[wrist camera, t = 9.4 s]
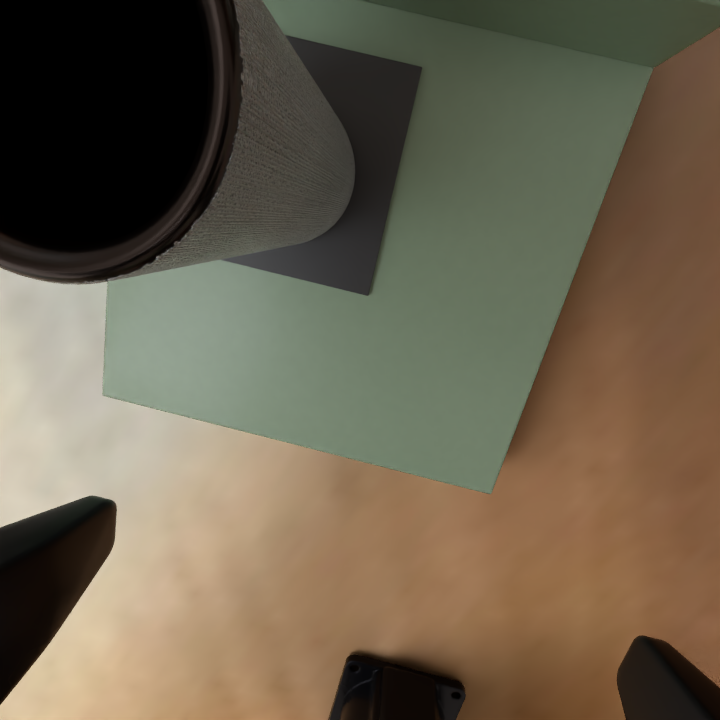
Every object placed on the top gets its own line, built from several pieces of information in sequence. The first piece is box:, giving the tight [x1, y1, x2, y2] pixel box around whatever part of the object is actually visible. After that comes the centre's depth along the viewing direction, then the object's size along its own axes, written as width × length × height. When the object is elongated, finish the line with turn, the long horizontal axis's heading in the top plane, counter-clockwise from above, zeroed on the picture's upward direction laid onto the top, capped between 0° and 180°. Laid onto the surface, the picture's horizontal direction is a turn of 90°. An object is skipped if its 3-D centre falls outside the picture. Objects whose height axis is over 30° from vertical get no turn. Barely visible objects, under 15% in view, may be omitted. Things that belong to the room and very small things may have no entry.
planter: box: [0, 0, 355, 284], centre depth 9 cm, size 4×4×10 cm
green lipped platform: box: [103, 0, 720, 494], centre depth 14 cm, size 16×16×6 cm
